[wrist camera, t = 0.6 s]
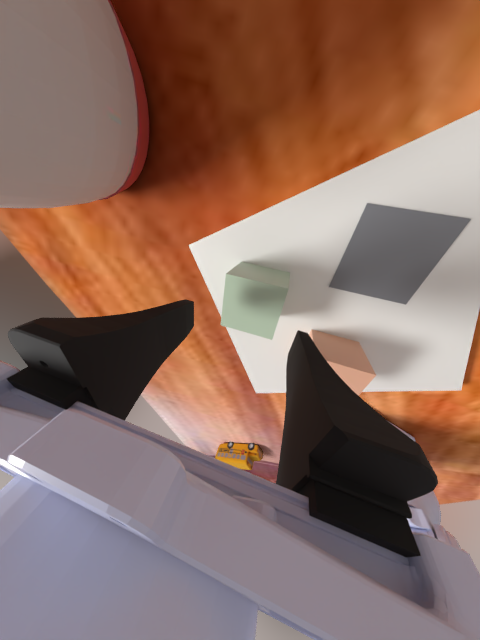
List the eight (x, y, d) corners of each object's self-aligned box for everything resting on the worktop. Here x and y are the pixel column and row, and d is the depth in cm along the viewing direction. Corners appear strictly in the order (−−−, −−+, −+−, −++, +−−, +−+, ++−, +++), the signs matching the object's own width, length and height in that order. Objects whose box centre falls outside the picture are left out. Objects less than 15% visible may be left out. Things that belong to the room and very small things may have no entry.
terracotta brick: (359, 342, 17) (376, 375, 14) (337, 372, 20) (347, 408, 16) (311, 329, 18) (315, 357, 14) (296, 360, 21) (297, 391, 17)
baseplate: (453, 382, 18) (461, 391, 17) (257, 387, 27) (255, 393, 26) (509, 97, 9) (532, 84, 8) (193, 244, 18) (188, 245, 17)
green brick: (290, 272, 16) (288, 288, 12) (276, 315, 19) (272, 339, 15) (241, 261, 17) (225, 273, 13) (234, 304, 19) (220, 325, 16)
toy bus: (264, 451, 37) (261, 473, 33) (226, 447, 41) (220, 467, 38) (258, 442, 35) (254, 464, 32) (220, 440, 40) (213, 459, 36)
